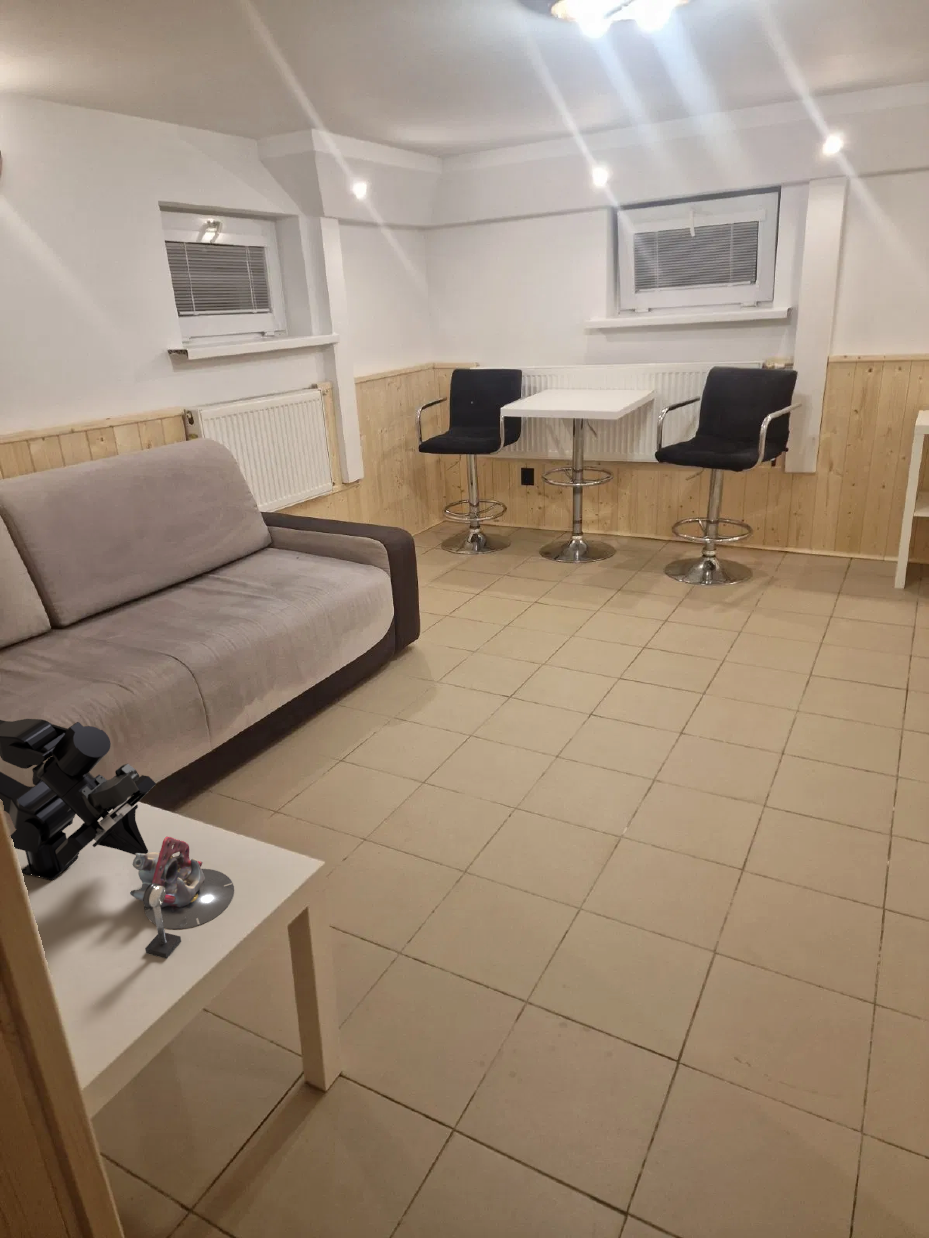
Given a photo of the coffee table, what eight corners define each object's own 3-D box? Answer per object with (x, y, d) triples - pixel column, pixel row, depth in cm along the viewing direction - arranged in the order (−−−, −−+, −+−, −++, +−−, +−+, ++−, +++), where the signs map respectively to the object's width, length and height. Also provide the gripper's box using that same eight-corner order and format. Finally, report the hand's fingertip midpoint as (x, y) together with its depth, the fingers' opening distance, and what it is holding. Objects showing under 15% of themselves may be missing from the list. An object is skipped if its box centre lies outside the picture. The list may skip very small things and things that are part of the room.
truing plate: (125, 918, 130) (125, 917, 130) (178, 862, 142) (178, 861, 142) (203, 937, 126) (202, 936, 126) (250, 878, 138) (250, 877, 138)
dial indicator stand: (146, 953, 123) (134, 892, 119) (160, 936, 126) (150, 876, 122) (166, 958, 122) (155, 897, 118) (181, 941, 125) (171, 880, 121)
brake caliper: (194, 910, 128) (142, 855, 125) (148, 936, 132) (97, 882, 129) (227, 863, 138) (180, 811, 135) (184, 888, 142) (137, 838, 139)
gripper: (56, 794, 120) (132, 869, 121) (137, 732, 137) (204, 798, 138) (23, 829, 125) (97, 901, 126) (106, 765, 142) (170, 829, 143)
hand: (145, 854), depth 133 cm, fingers closed
